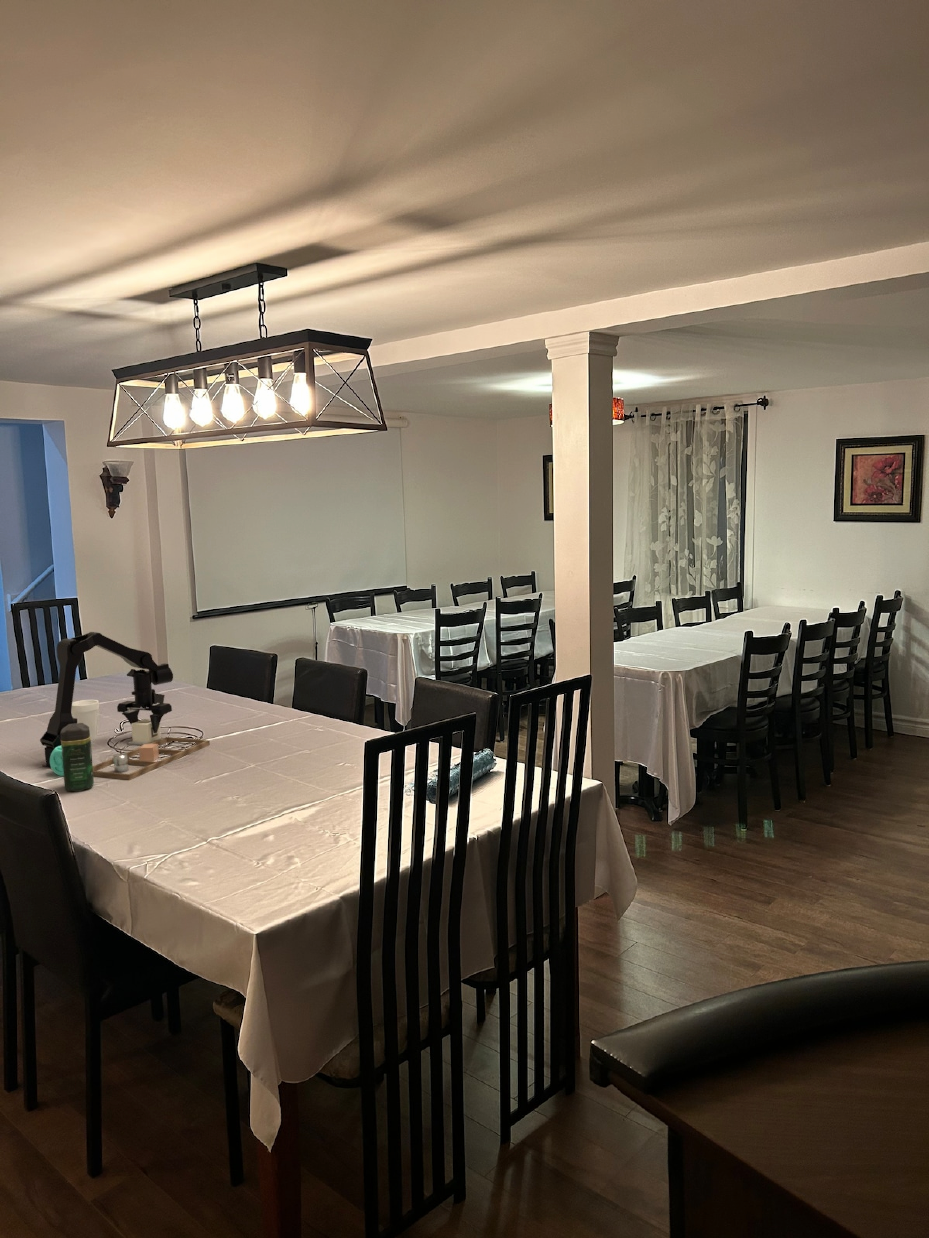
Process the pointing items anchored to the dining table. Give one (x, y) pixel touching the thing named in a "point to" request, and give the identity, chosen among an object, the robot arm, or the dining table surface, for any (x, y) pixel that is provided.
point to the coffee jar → (77, 757)
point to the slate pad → (140, 743)
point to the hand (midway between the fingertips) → (146, 732)
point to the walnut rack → (149, 764)
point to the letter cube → (144, 732)
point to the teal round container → (57, 761)
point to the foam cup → (87, 715)
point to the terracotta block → (149, 752)
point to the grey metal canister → (120, 763)
